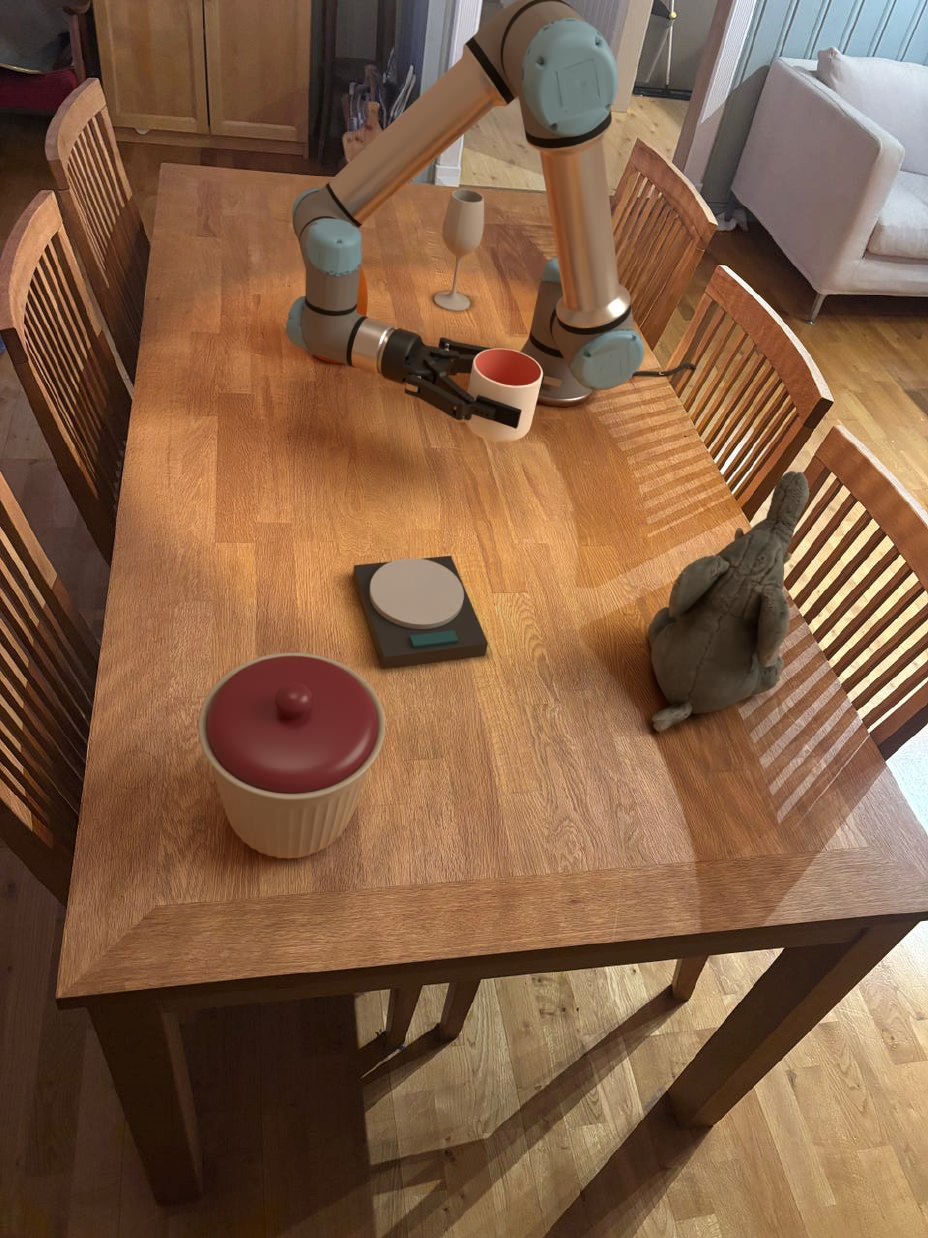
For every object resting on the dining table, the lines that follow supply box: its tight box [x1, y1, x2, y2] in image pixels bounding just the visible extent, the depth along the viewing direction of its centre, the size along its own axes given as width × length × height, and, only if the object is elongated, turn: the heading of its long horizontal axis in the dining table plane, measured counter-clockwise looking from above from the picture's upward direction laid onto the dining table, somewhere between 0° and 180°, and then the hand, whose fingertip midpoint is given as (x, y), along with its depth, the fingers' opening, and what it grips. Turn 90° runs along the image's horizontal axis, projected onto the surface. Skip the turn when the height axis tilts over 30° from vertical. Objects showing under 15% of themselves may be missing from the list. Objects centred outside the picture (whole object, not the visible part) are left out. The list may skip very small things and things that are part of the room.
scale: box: [352, 555, 489, 670], centre depth 130 cm, size 14×17×3 cm
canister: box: [197, 651, 386, 860], centre depth 99 cm, size 18×18×21 cm
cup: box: [464, 348, 543, 443], centre depth 140 cm, size 10×10×10 cm
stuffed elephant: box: [647, 470, 810, 733], centre depth 122 cm, size 19×21×27 cm
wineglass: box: [433, 188, 485, 312], centre depth 185 cm, size 8×8×21 cm
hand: (531, 401), depth 138 cm, fingers closed on cup, 10 cm apart
